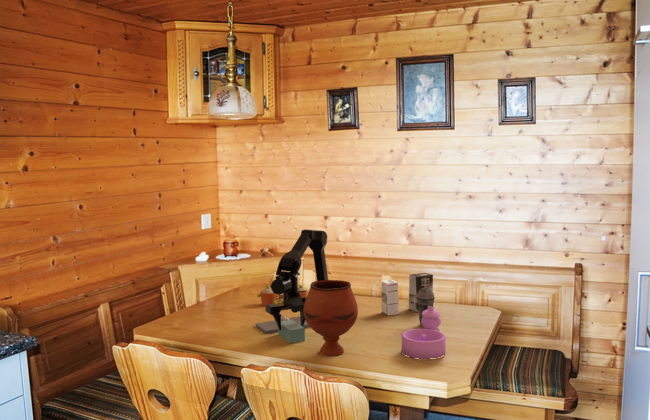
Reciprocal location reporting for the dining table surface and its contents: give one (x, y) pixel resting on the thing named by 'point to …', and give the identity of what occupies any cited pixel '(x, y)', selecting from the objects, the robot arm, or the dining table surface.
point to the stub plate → (272, 325)
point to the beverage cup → (424, 300)
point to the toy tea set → (270, 297)
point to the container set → (425, 338)
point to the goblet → (330, 312)
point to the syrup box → (390, 297)
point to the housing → (292, 331)
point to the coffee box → (418, 287)
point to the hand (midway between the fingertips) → (291, 328)
